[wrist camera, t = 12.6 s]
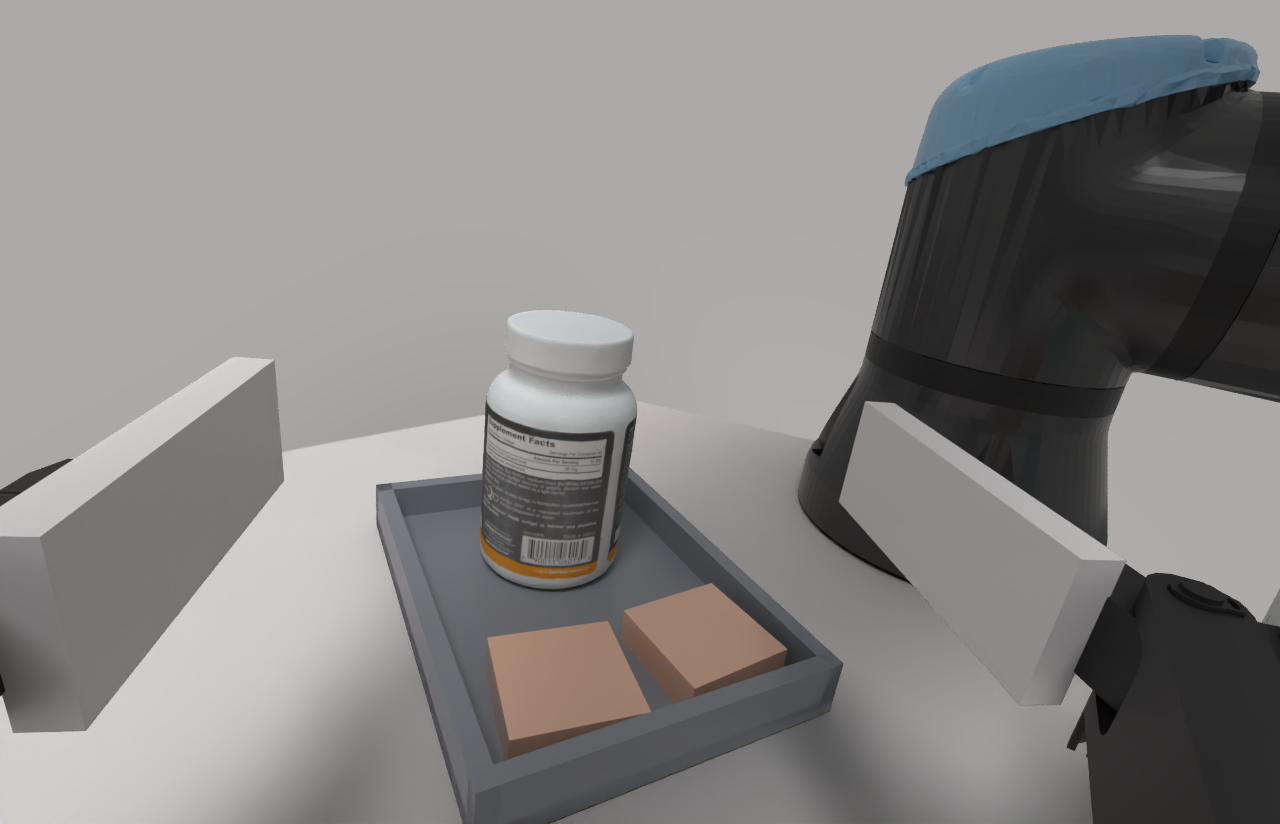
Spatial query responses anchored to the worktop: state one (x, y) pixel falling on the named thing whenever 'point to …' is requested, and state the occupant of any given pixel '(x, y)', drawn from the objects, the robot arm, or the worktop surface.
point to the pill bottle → (557, 449)
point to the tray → (494, 606)
